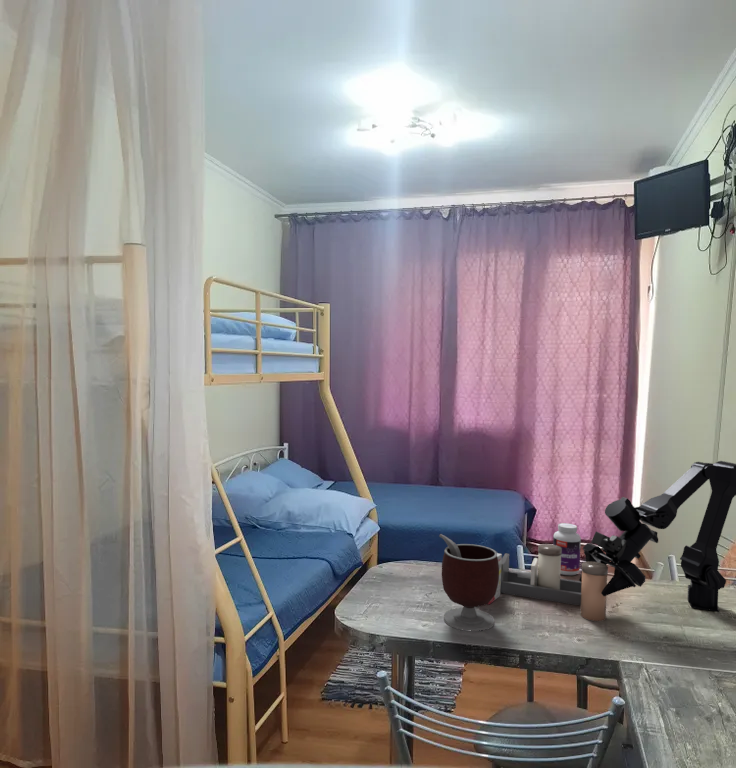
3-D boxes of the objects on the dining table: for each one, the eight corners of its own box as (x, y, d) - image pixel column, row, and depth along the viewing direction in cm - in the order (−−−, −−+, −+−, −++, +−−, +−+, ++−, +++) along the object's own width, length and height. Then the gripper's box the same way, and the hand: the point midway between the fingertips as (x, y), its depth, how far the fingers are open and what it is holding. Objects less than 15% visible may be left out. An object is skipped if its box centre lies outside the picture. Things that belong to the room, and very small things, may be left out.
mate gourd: (506, 618, 153) (508, 538, 152) (483, 638, 141) (486, 552, 140) (450, 603, 161) (452, 528, 161) (424, 621, 150) (426, 540, 149)
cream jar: (561, 591, 171) (562, 545, 171) (559, 599, 166) (560, 551, 165) (538, 588, 174) (539, 542, 173) (535, 595, 168) (537, 548, 168)
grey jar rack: (595, 594, 170) (596, 565, 170) (594, 607, 160) (595, 577, 160) (504, 580, 179) (505, 553, 179) (497, 592, 170) (498, 563, 170)
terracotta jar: (606, 613, 157) (608, 563, 156) (605, 623, 151) (607, 571, 151) (580, 609, 159) (582, 560, 159) (579, 618, 153) (581, 567, 153)
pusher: (537, 586, 174) (538, 558, 174) (533, 594, 168) (534, 566, 167) (519, 583, 176) (520, 555, 176) (515, 591, 170) (516, 563, 169)
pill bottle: (551, 574, 185) (553, 527, 185) (552, 566, 193) (553, 521, 193) (580, 577, 183) (581, 530, 183) (579, 569, 191) (580, 523, 190)
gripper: (590, 512, 164) (552, 555, 162) (637, 531, 146) (594, 580, 144) (614, 540, 167) (577, 583, 164) (663, 562, 149) (622, 610, 146)
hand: (591, 588), depth 155 cm, fingers open, 9 cm apart
